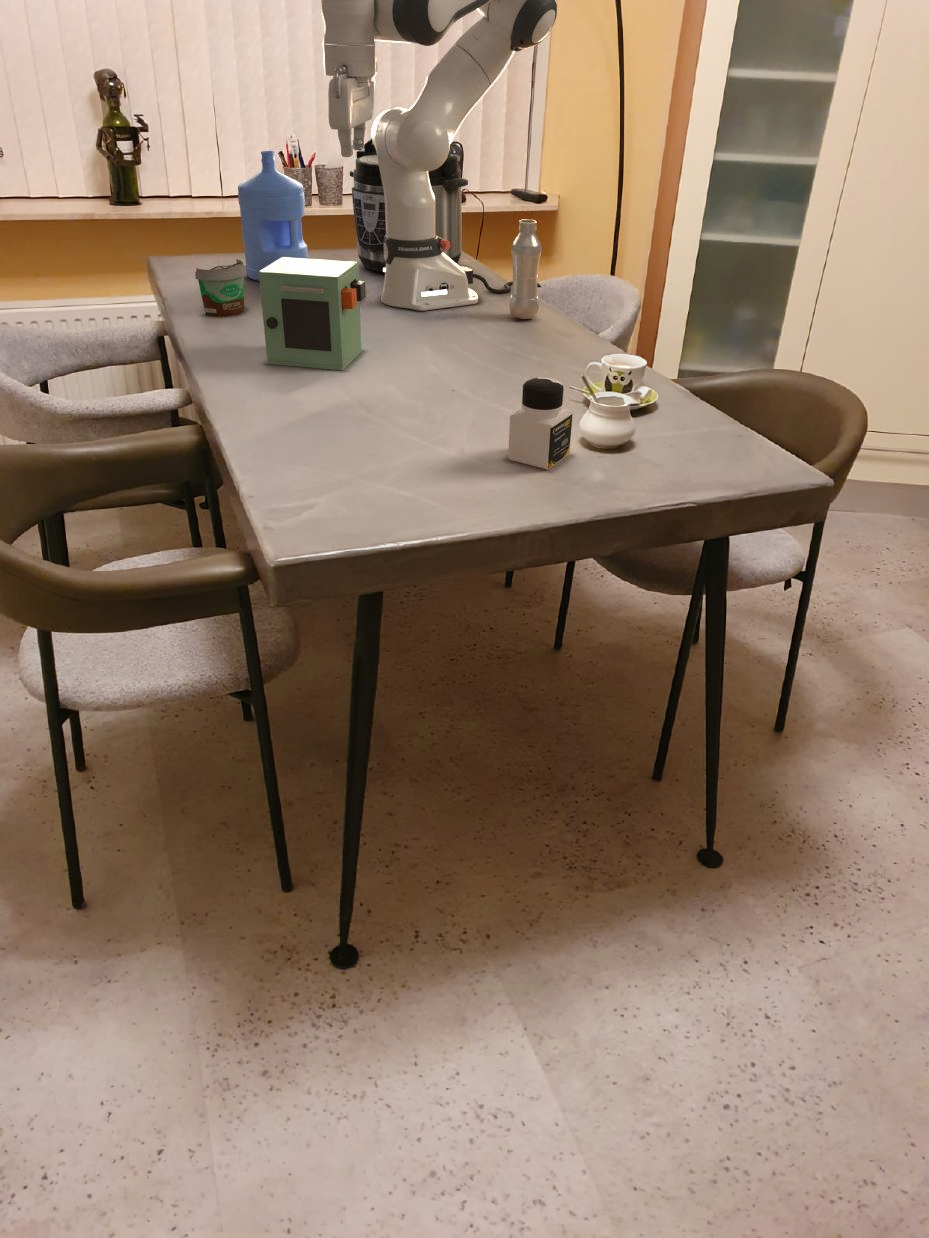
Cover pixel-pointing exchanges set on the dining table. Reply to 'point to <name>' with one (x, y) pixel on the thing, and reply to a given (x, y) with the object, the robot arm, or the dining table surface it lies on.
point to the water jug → (271, 217)
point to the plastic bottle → (525, 271)
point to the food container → (222, 289)
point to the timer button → (359, 289)
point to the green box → (309, 313)
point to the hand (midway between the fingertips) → (353, 153)
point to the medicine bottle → (540, 425)
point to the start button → (348, 298)
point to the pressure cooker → (372, 206)
